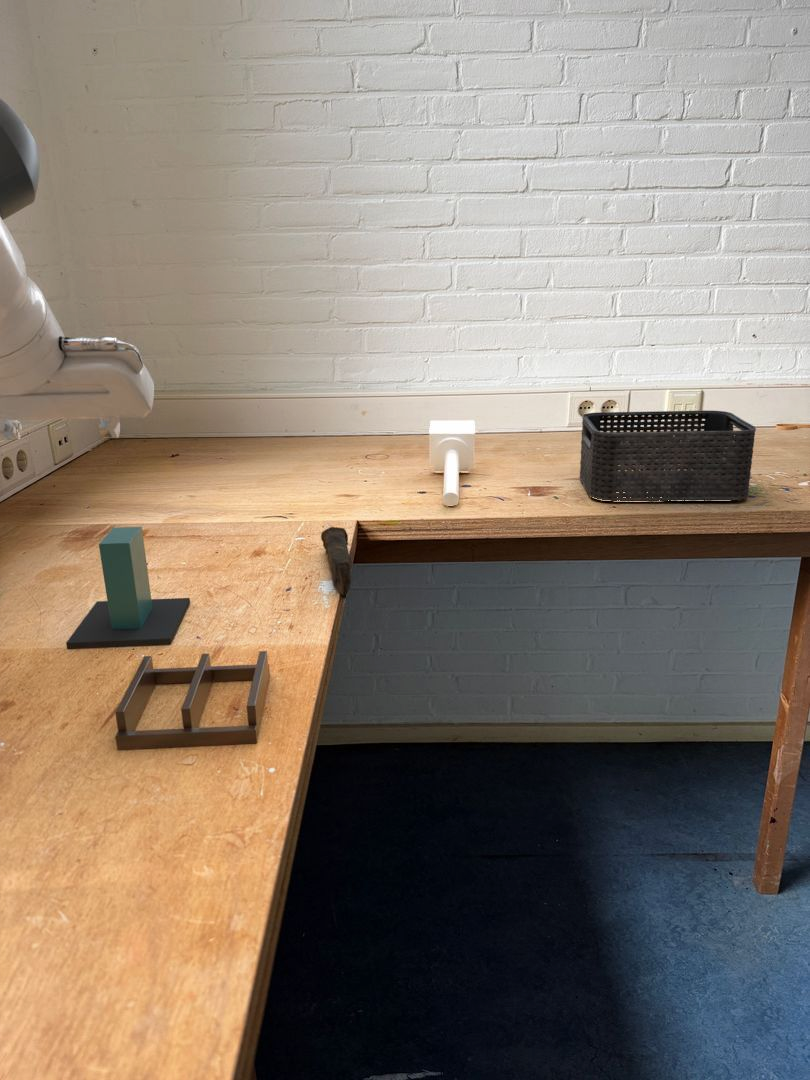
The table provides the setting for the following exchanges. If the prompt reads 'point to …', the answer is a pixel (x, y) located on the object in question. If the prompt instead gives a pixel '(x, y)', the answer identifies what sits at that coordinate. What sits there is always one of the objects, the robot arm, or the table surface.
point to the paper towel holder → (451, 453)
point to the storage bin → (666, 456)
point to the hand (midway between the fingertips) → (63, 433)
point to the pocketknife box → (126, 577)
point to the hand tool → (338, 557)
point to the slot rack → (191, 705)
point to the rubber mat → (153, 631)
